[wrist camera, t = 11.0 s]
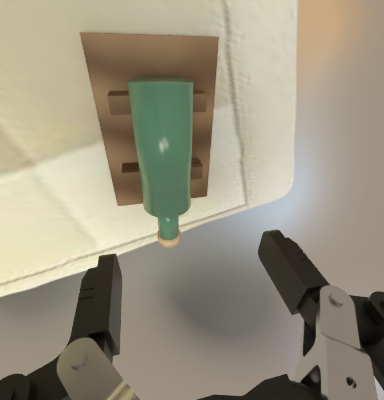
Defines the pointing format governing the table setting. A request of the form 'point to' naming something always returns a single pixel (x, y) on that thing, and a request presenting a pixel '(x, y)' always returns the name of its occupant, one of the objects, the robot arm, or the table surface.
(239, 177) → the table surface
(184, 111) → the bottle
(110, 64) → the bottle rest
